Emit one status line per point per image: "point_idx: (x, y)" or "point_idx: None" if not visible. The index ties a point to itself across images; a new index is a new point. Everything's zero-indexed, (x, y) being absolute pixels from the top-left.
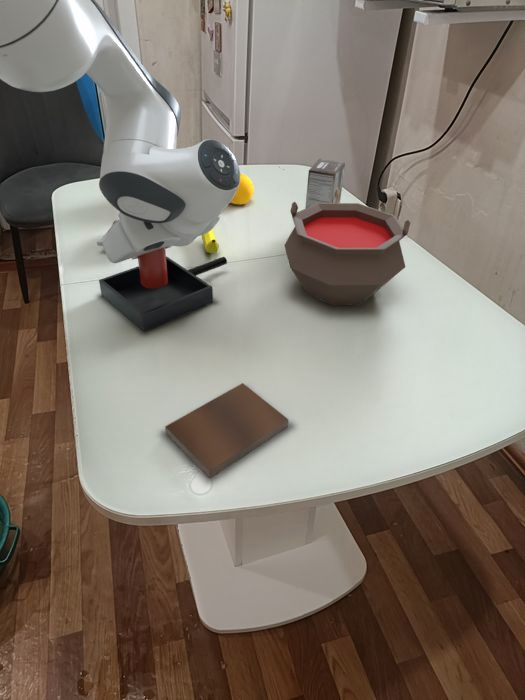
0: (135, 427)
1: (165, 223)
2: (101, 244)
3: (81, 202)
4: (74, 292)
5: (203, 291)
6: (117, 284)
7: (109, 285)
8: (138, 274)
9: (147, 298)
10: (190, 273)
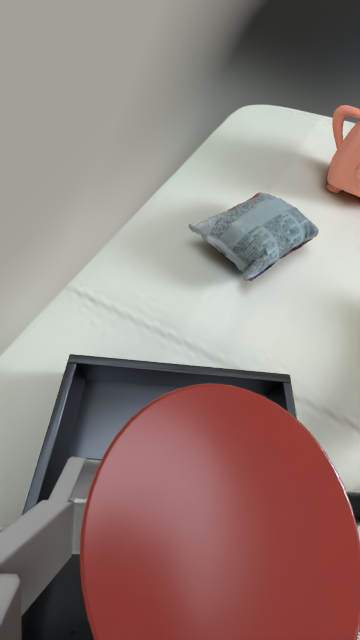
0: None
1: None
2: (197, 231)
3: (253, 133)
4: (53, 321)
5: None
6: (120, 376)
7: (97, 372)
8: (185, 380)
9: None
10: None
